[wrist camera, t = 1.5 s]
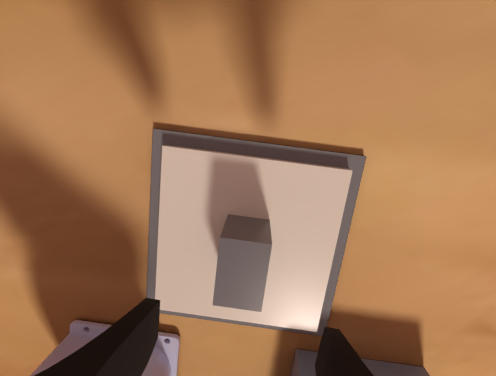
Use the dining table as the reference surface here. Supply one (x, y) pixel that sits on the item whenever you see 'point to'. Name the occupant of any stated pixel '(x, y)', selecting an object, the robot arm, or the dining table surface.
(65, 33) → the dining table surface
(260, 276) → the lid
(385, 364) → the open box
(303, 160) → the mat
